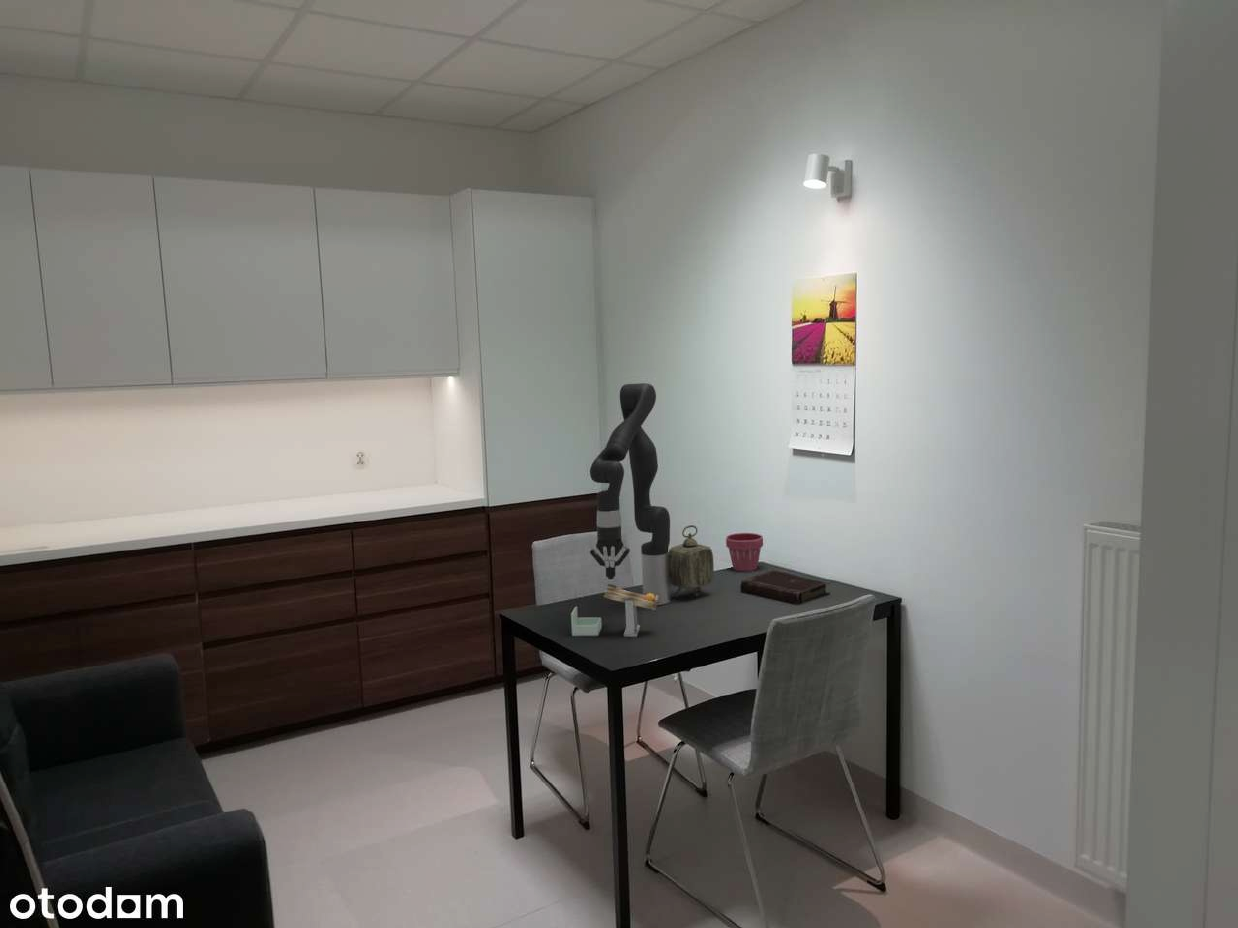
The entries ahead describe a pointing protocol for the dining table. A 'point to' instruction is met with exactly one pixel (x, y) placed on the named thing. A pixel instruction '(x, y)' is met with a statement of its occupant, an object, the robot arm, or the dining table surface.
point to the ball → (650, 597)
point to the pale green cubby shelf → (585, 625)
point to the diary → (784, 587)
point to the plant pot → (744, 550)
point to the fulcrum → (631, 619)
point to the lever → (629, 597)
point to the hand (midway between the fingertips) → (610, 578)
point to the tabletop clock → (690, 564)
